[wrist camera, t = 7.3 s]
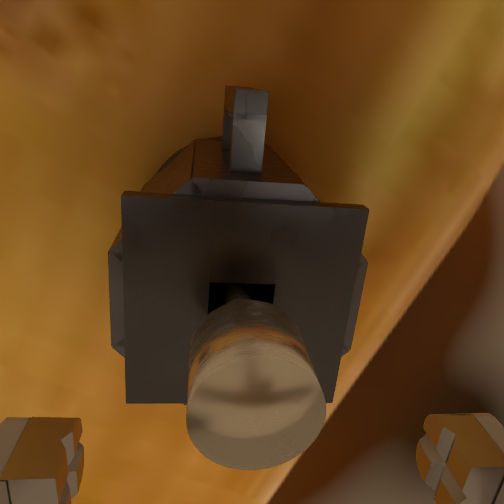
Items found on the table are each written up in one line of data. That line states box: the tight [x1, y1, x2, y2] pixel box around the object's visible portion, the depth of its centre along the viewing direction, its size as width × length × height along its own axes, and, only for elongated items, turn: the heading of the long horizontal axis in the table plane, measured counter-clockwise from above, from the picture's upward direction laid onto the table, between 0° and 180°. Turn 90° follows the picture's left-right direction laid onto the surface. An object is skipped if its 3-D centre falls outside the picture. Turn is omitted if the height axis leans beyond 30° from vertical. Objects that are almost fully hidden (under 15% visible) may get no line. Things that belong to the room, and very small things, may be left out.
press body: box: [108, 85, 369, 405], centre depth 21 cm, size 13×10×12 cm
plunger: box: [186, 282, 326, 470], centre depth 17 cm, size 7×7×14 cm
